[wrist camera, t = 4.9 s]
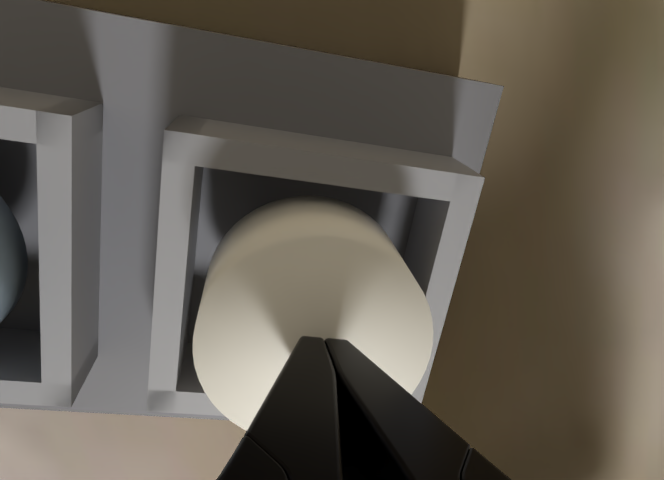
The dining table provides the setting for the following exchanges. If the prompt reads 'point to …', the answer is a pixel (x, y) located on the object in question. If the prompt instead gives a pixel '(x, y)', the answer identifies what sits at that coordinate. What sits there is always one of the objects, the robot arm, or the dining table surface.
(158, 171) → the button panel
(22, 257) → the slate button
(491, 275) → the dining table surface
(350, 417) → the robot arm
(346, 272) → the cream button
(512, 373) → the dining table surface
